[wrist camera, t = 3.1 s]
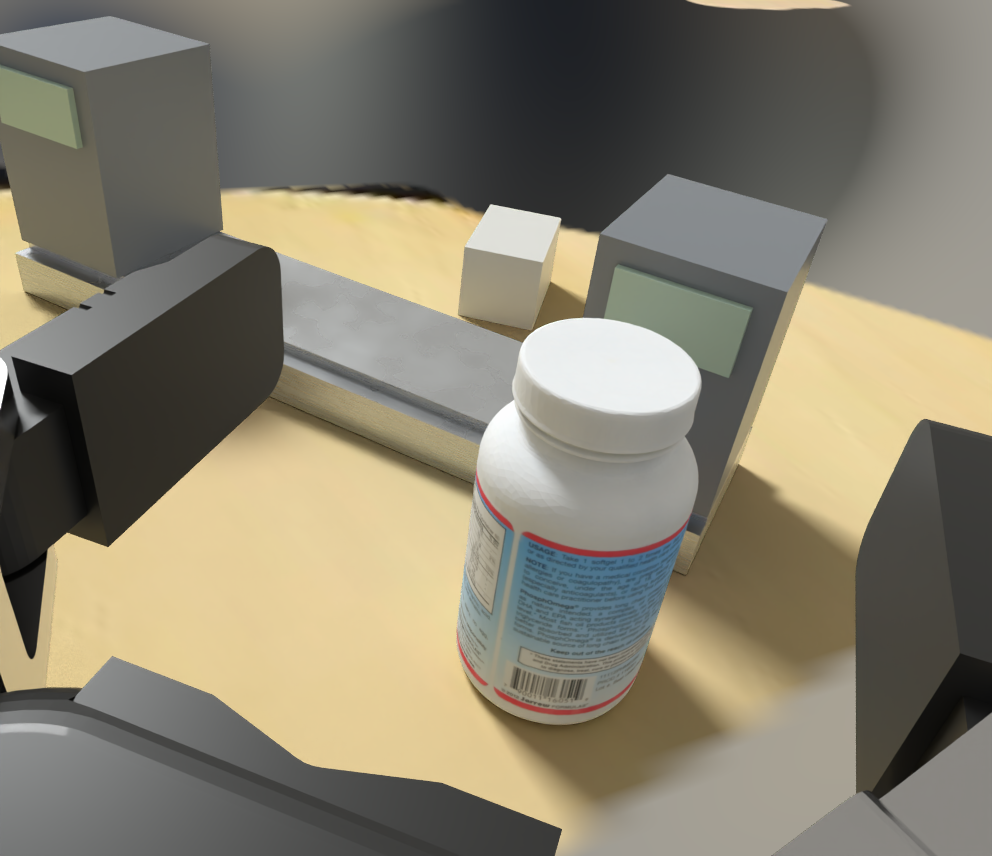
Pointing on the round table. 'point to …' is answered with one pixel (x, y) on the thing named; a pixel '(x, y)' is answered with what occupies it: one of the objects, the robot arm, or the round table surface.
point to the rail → (369, 364)
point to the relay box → (508, 266)
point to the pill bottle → (577, 518)
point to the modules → (198, 214)
